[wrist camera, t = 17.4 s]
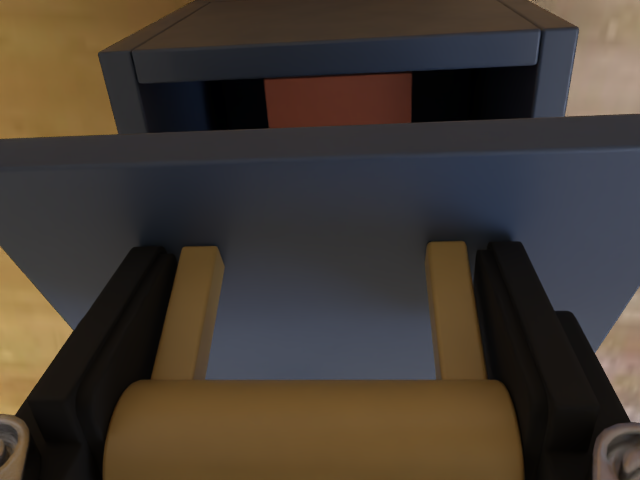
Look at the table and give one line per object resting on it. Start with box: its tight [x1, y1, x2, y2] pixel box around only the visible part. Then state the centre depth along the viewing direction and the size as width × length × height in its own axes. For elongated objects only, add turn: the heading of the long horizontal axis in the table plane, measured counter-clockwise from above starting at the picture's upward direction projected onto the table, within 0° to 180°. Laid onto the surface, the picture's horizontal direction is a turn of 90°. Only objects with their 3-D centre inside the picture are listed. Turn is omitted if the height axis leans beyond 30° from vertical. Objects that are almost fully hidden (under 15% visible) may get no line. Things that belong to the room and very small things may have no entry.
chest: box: [98, 0, 579, 134], centre depth 22 cm, size 16×12×10 cm
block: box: [263, 71, 413, 128], centre depth 22 cm, size 5×5×5 cm
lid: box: [0, 114, 640, 480], centre depth 14 cm, size 17×12×5 cm
